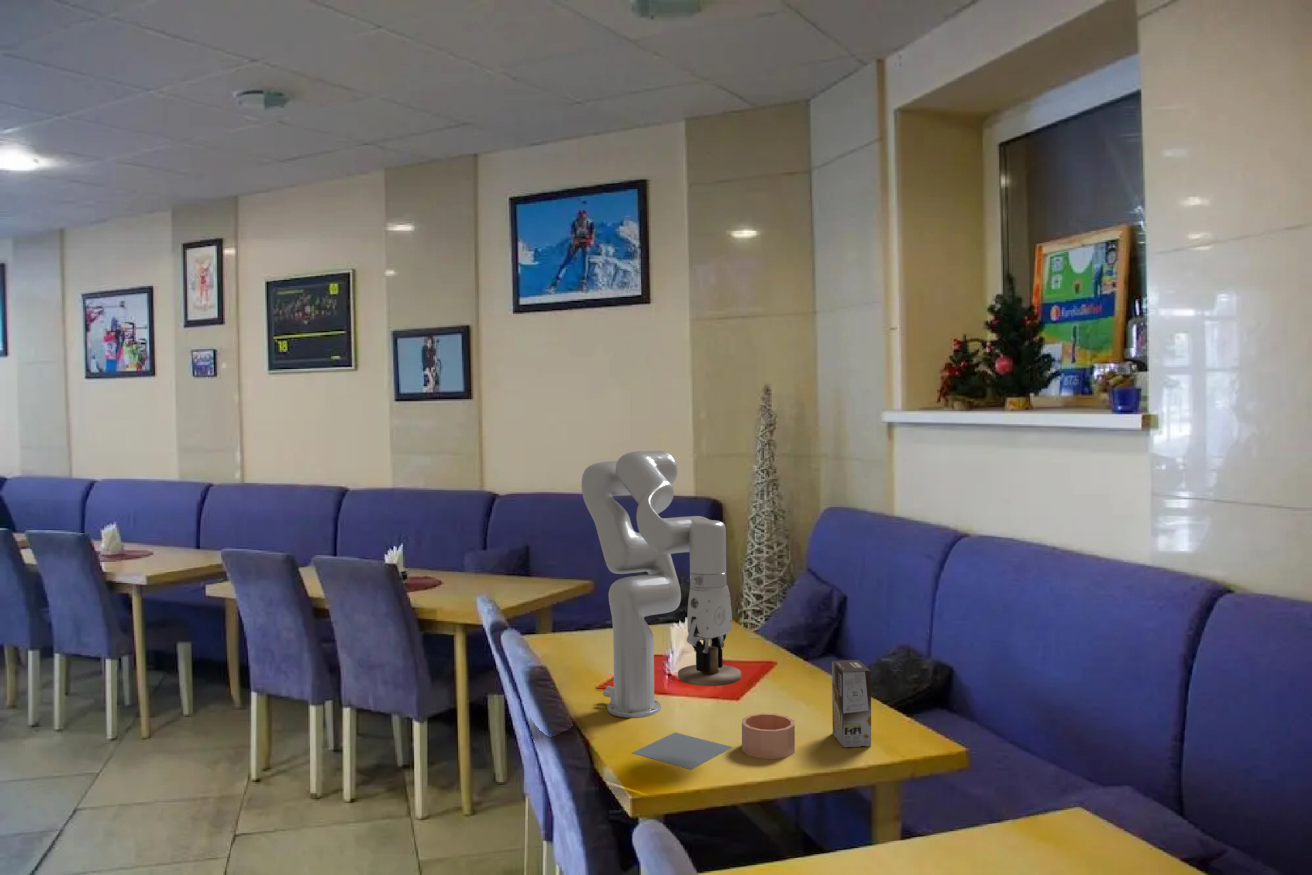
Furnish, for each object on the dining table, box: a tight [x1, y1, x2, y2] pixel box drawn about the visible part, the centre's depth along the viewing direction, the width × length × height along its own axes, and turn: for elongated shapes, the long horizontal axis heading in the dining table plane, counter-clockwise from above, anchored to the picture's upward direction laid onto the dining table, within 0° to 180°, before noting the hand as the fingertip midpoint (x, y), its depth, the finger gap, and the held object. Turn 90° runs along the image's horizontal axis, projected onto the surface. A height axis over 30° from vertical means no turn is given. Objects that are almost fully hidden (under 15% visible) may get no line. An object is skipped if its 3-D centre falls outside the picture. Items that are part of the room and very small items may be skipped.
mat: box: [631, 732, 733, 770], centre depth 195 cm, size 15×15×1 cm
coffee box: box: [831, 659, 872, 748], centre depth 201 cm, size 9×6×16 cm
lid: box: [677, 645, 742, 687], centre depth 195 cm, size 13×13×6 cm
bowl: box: [741, 712, 796, 760], centre depth 195 cm, size 11×11×6 cm
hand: (709, 668), depth 195 cm, fingers closed on lid, 3 cm apart
